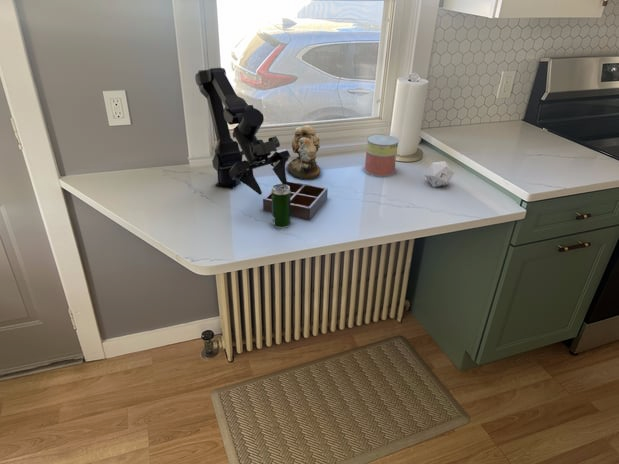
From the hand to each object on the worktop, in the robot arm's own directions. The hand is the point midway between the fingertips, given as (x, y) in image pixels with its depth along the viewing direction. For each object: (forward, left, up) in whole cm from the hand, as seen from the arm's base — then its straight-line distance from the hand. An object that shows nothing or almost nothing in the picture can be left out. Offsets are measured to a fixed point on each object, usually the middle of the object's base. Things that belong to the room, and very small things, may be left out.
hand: (273, 189), depth 134 cm
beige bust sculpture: (-6, +39, -10) cm, 41 cm away
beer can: (+3, -1, -10) cm, 11 cm away
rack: (+2, +12, -10) cm, 16 cm away
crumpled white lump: (+42, +47, -10) cm, 64 cm away
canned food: (+20, +51, -10) cm, 56 cm away
